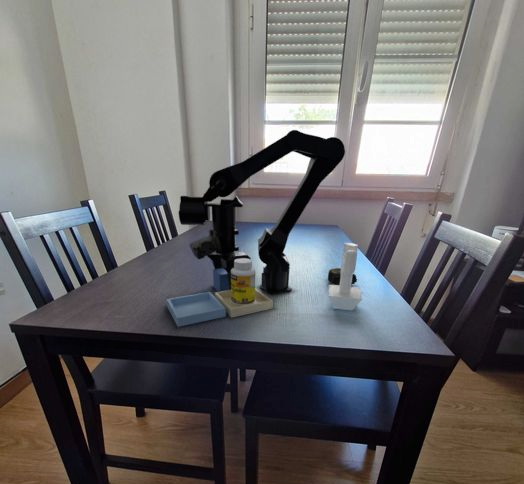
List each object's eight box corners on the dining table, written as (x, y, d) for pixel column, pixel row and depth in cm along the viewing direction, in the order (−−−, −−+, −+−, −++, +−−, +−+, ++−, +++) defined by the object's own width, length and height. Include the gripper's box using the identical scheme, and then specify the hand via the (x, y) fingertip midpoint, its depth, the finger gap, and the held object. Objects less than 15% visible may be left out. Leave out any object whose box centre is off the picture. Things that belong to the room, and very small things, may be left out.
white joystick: (356, 299, 70) (365, 240, 65) (360, 316, 62) (371, 249, 56) (327, 296, 72) (333, 238, 66) (326, 312, 63) (334, 247, 58)
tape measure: (333, 288, 77) (334, 275, 76) (323, 279, 83) (324, 267, 82) (356, 287, 78) (358, 274, 77) (344, 278, 85) (346, 267, 83)
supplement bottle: (226, 303, 65) (225, 261, 62) (239, 295, 70) (239, 255, 66) (246, 309, 63) (246, 265, 59) (259, 300, 67) (260, 259, 64)
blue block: (230, 284, 78) (230, 267, 77) (237, 290, 74) (237, 272, 73) (213, 286, 76) (212, 269, 74) (220, 293, 72) (219, 275, 70)
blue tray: (210, 299, 69) (210, 291, 68) (225, 316, 60) (225, 308, 60) (167, 307, 64) (166, 299, 63) (177, 327, 56) (176, 318, 55)
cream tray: (252, 293, 73) (252, 285, 72) (272, 308, 64) (272, 300, 64) (214, 300, 68) (214, 292, 67) (231, 317, 60) (231, 309, 59)
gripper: (181, 221, 73) (186, 278, 79) (203, 234, 58) (207, 303, 64) (222, 219, 78) (223, 272, 84) (252, 231, 63) (251, 295, 69)
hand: (225, 284), depth 75 cm, fingers open, 9 cm apart
